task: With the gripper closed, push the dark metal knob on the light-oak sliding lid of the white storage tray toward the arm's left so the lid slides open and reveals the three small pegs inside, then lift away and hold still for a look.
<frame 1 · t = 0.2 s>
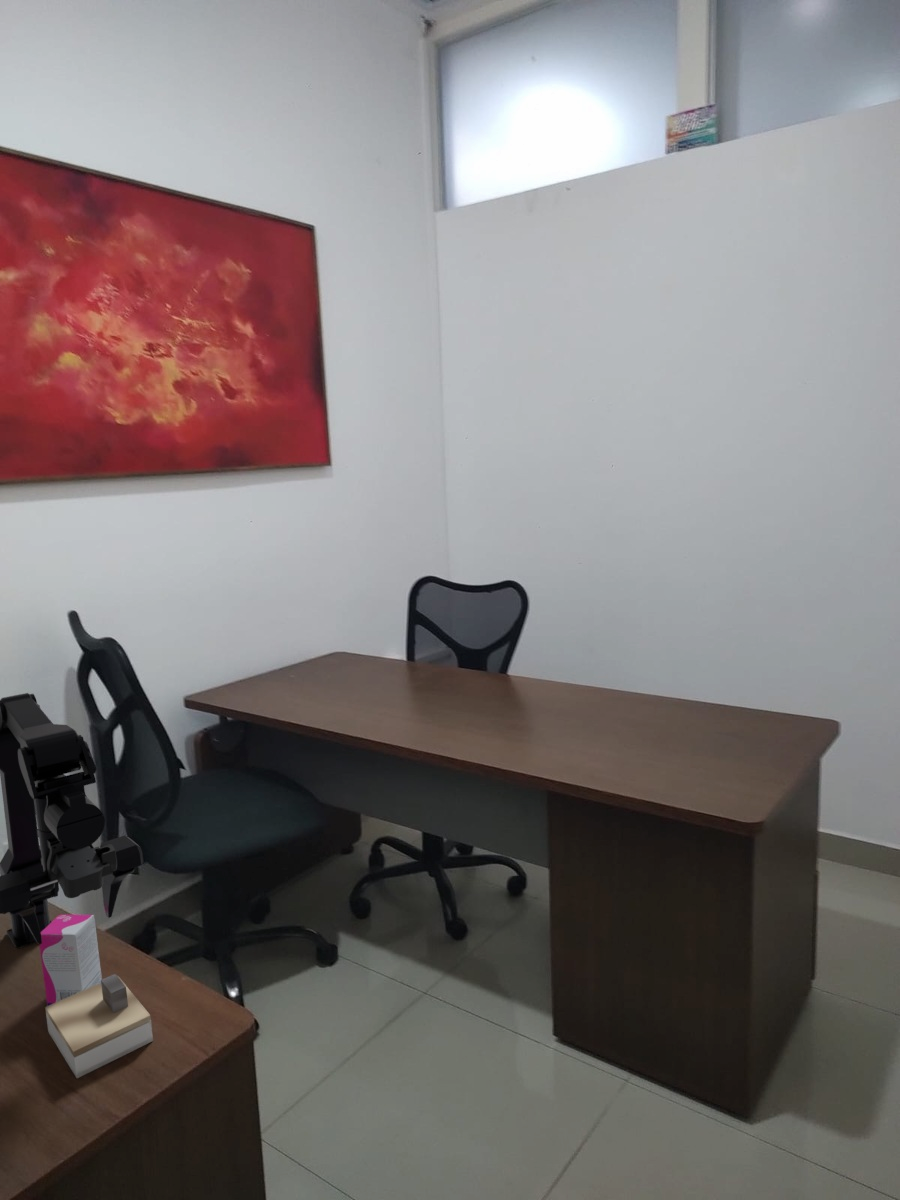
hand: (75, 929, 115), 15 cm above the table, fingers open, 9 cm apart
lid: (96, 1003, 114), point 5 cm above the table, slide at 0.0 cm
white storage tray: (100, 1036, 115), on the table
supplement box: (75, 995, 124), on the table
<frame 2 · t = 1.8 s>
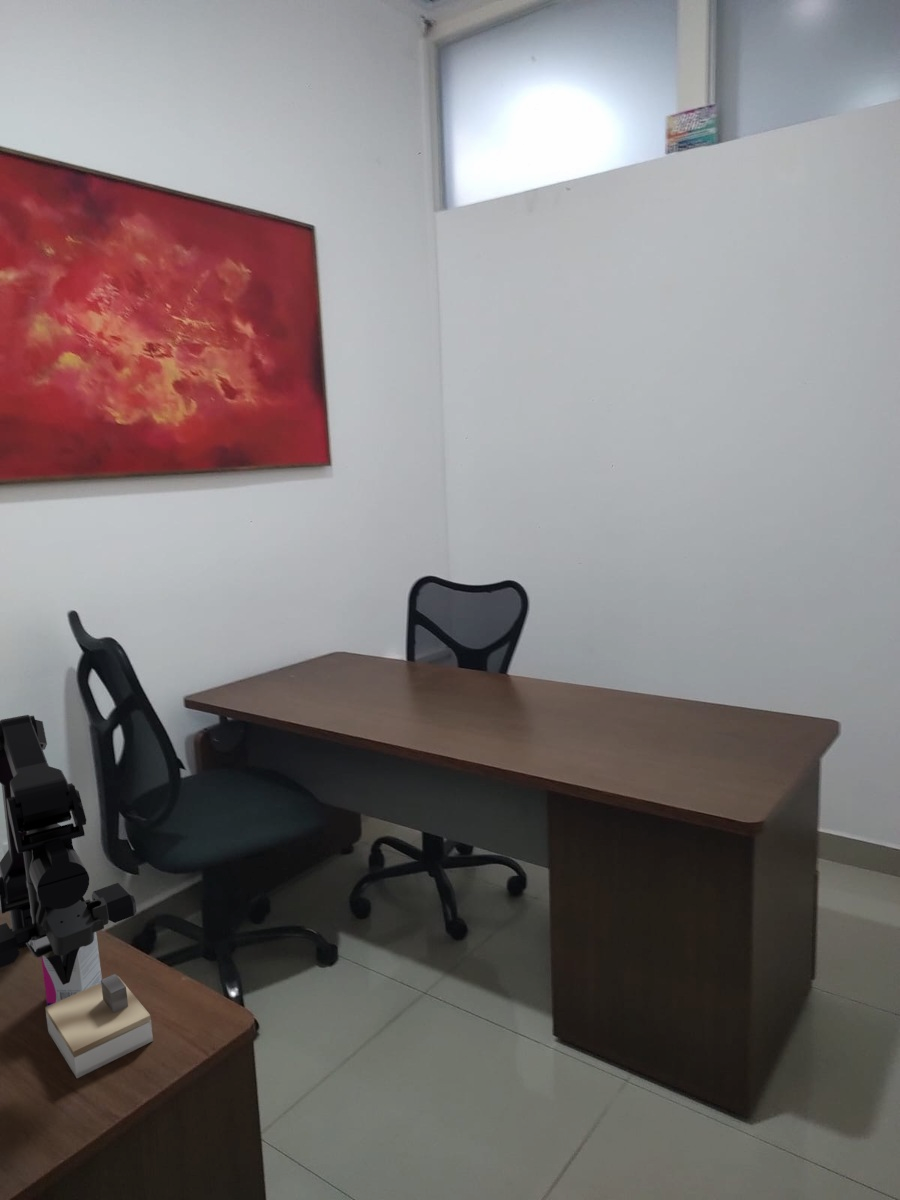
hand: (65, 982, 111), 10 cm above the table, fingers closed
nothing on the table moved.
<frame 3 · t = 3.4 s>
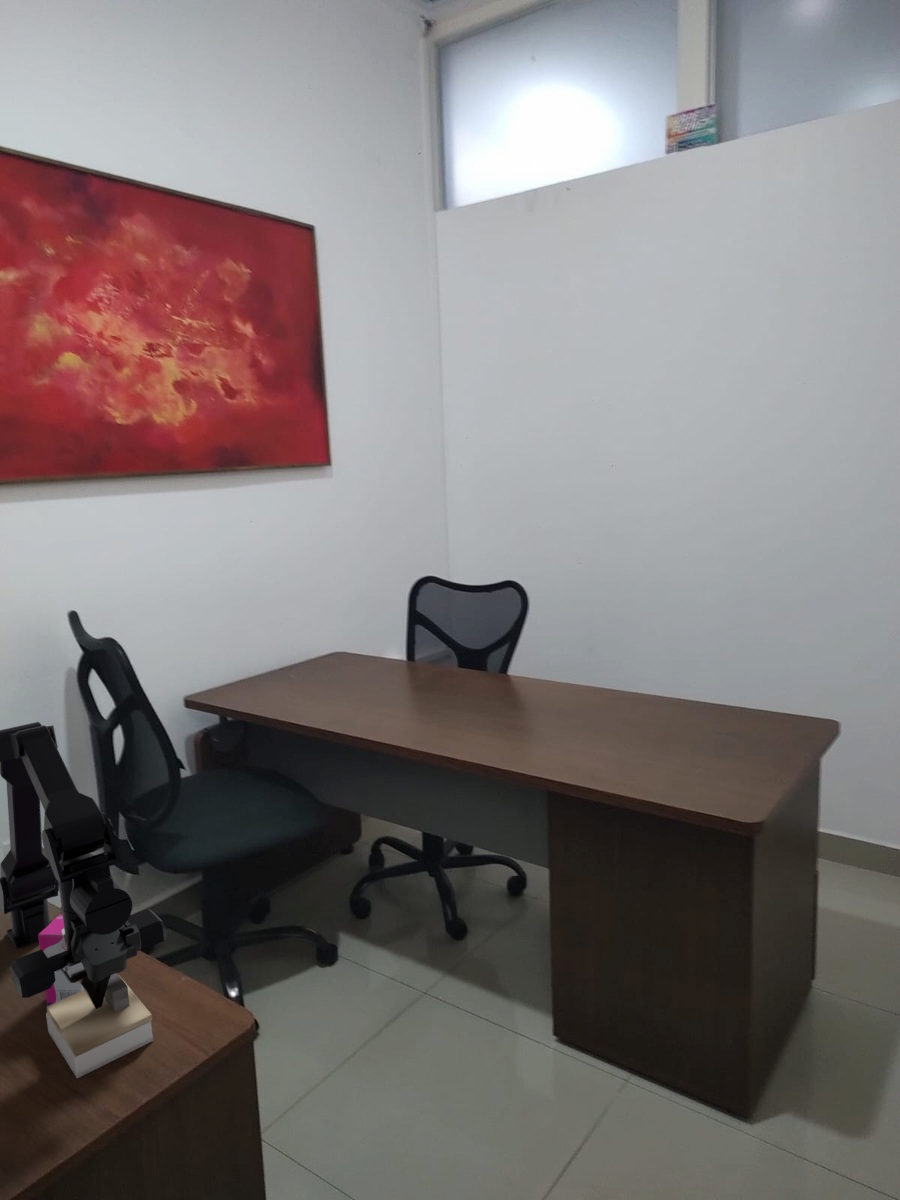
hand: (97, 1006, 114), 4 cm above the table, fingers closed
lid: (97, 1003, 114), point 5 cm above the table, slide at 0.2 cm, touching gripper
everything else where it was.
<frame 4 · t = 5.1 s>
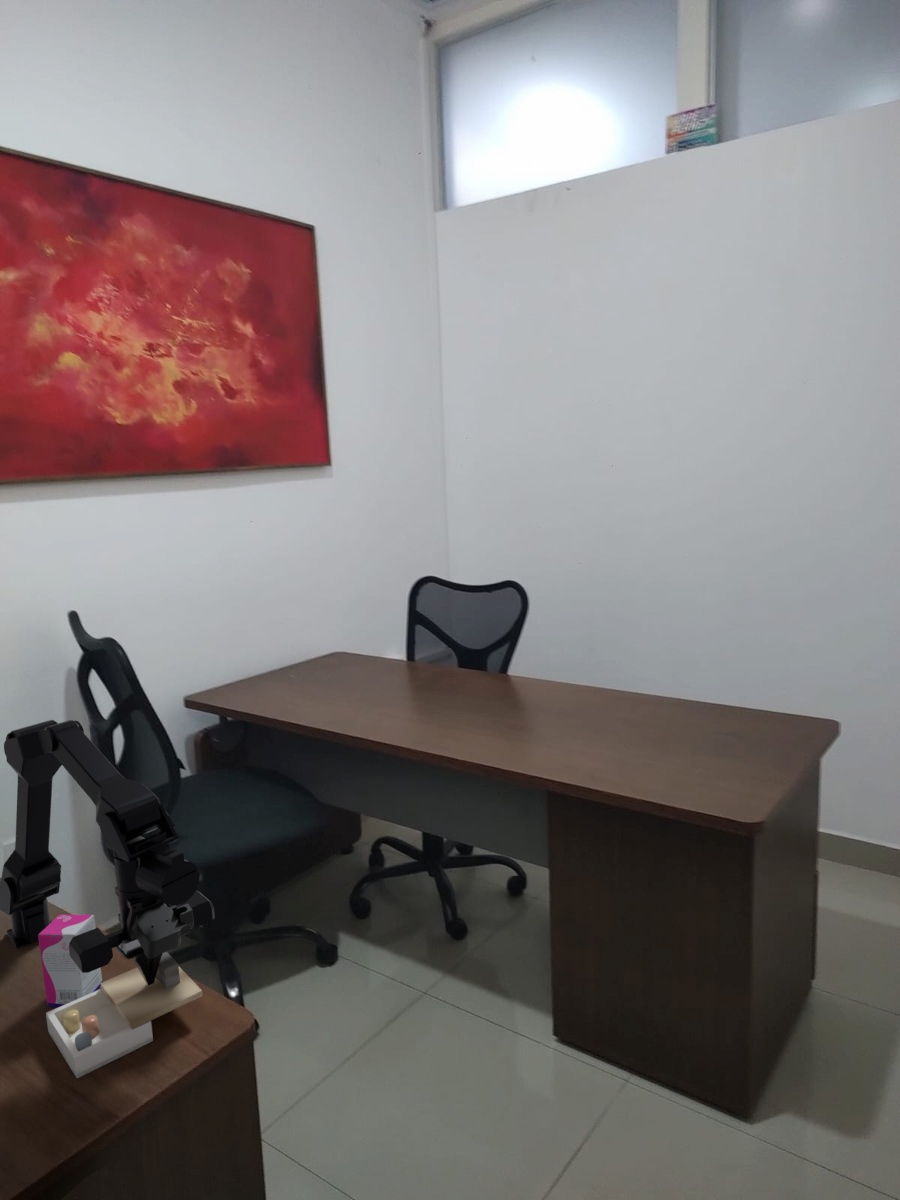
hand: (149, 983, 119), 5 cm above the table, fingers closed
lid: (149, 980, 119), point 5 cm above the table, slide at 7.5 cm, touching gripper
everything else where it was.
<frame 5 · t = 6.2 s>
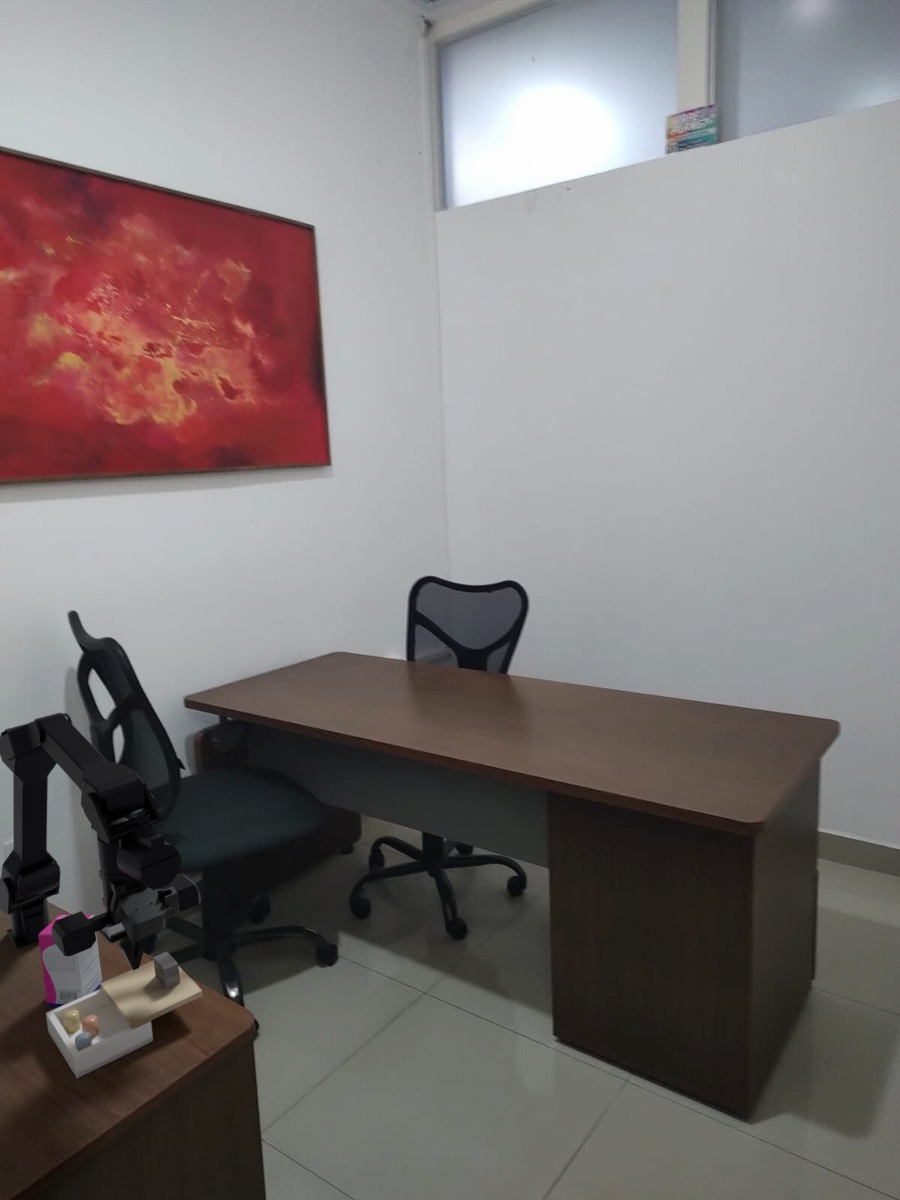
hand: (134, 968, 117), 8 cm above the table, fingers closed
lid: (150, 979, 119), point 5 cm above the table, slide at 7.5 cm
everything else where it was.
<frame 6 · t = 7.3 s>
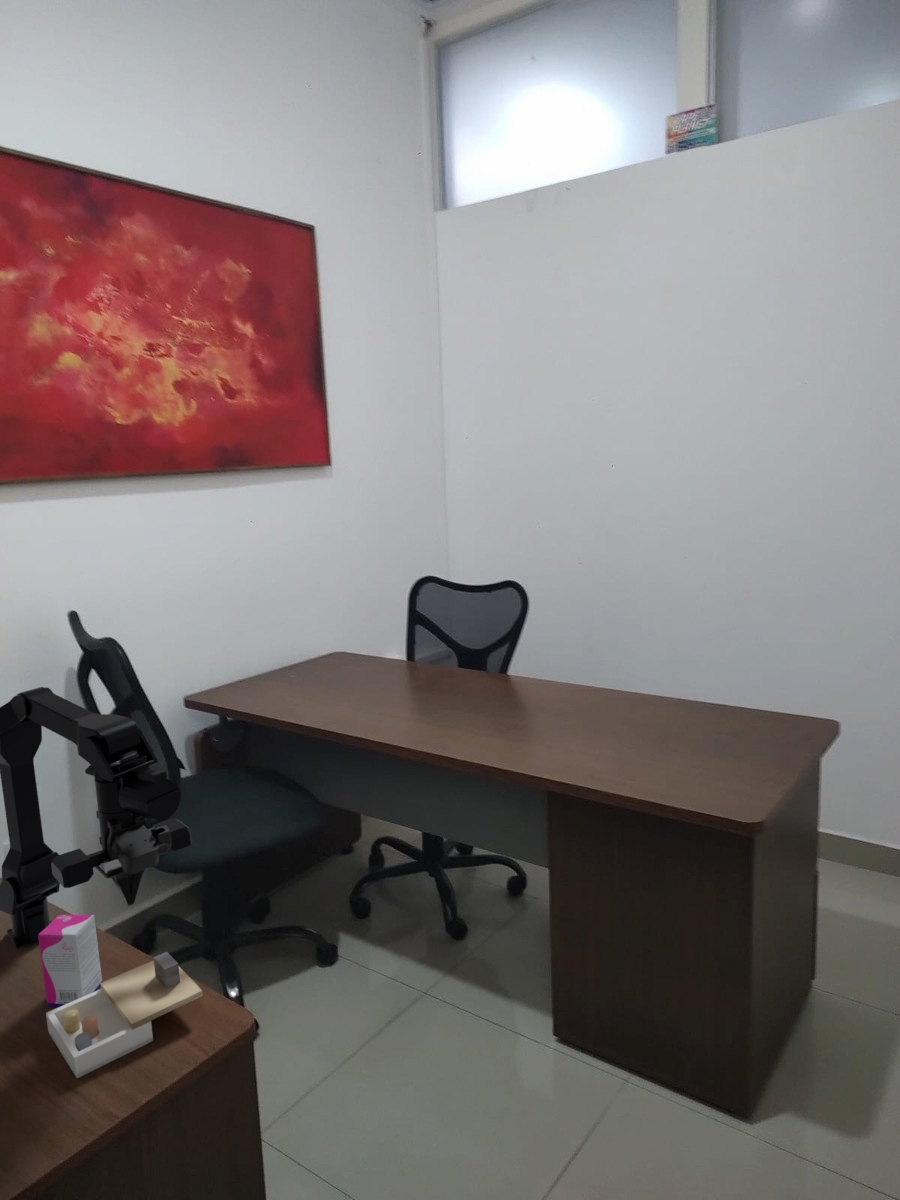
hand: (130, 904, 124), 13 cm above the table, fingers closed
nothing on the table moved.
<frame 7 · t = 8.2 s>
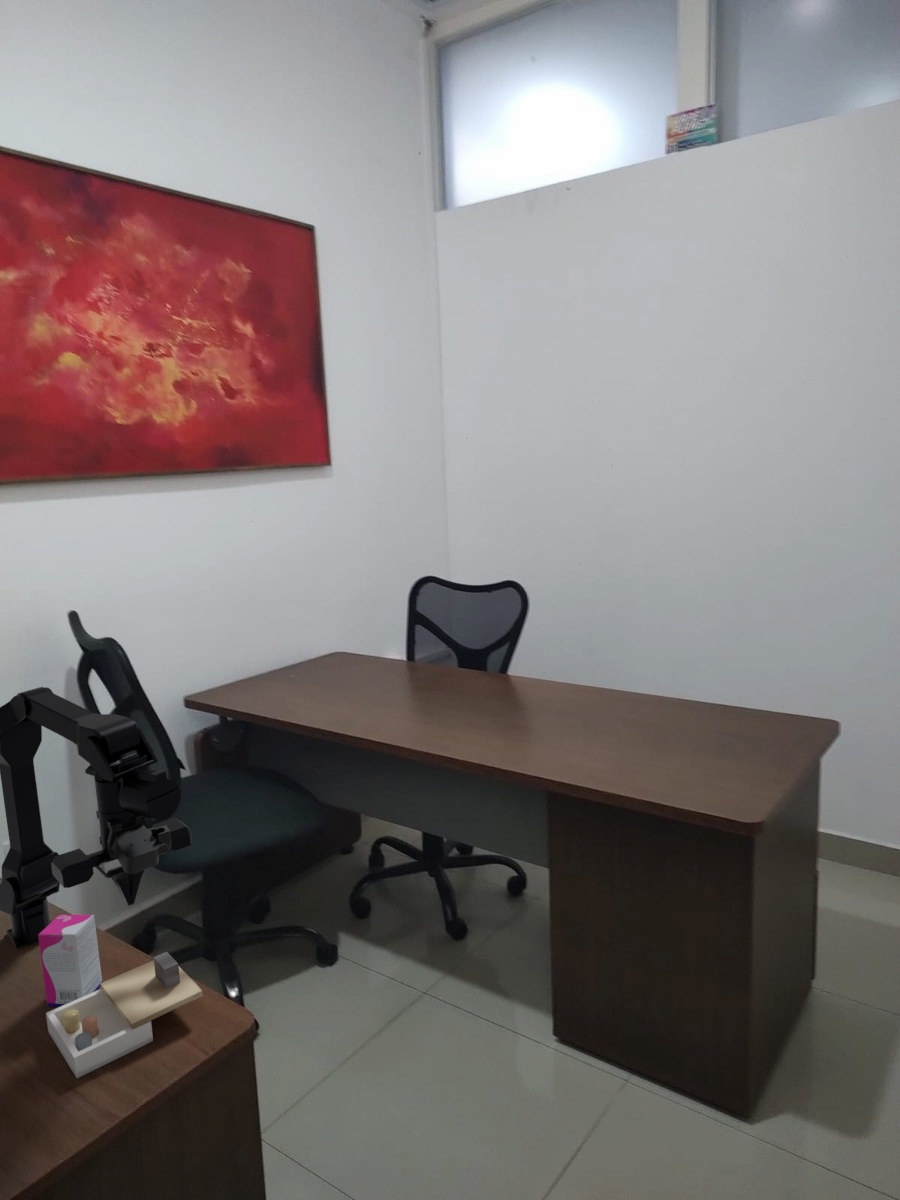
hand: (130, 904, 124), 13 cm above the table, fingers closed
nothing on the table moved.
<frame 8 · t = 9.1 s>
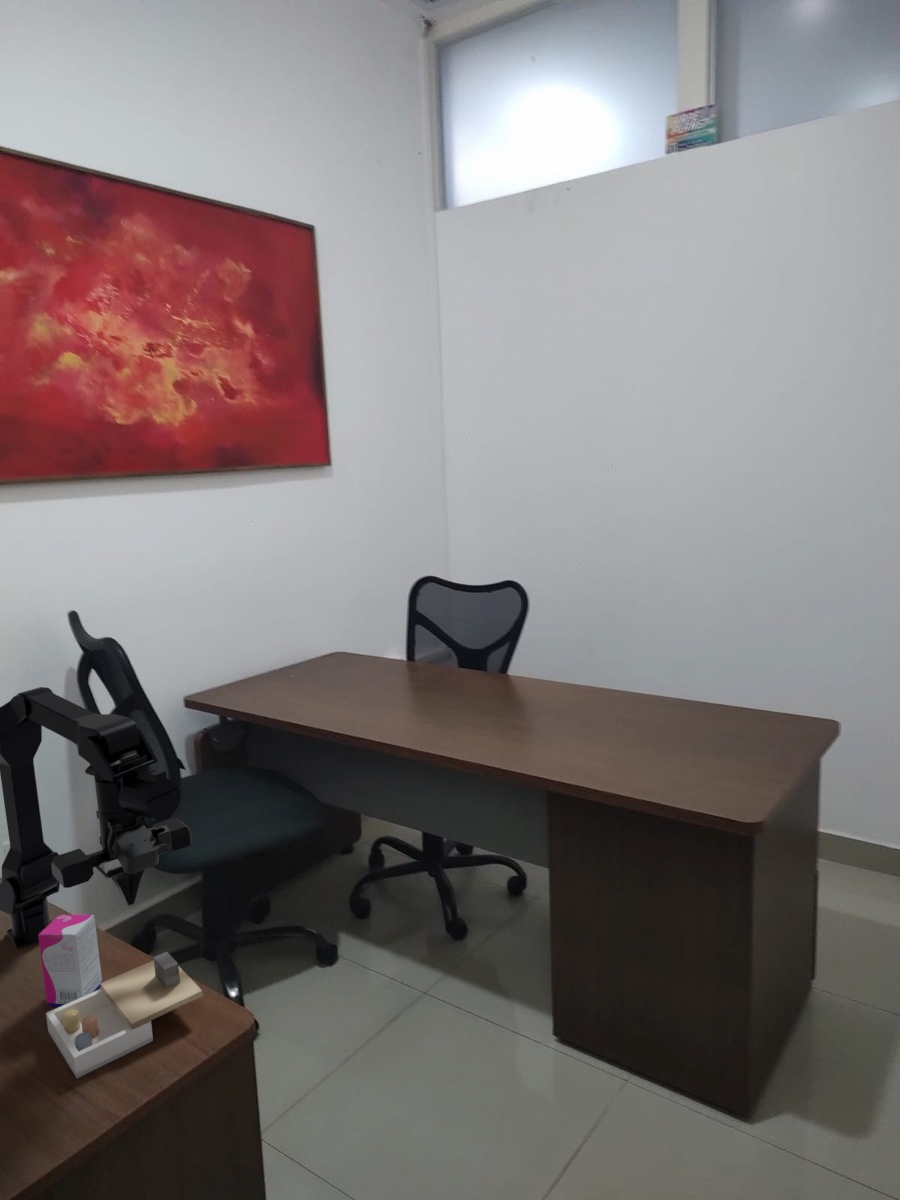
hand: (130, 904, 124), 13 cm above the table, fingers closed
nothing on the table moved.
at the end: lid slide at 7.5 cm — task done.
